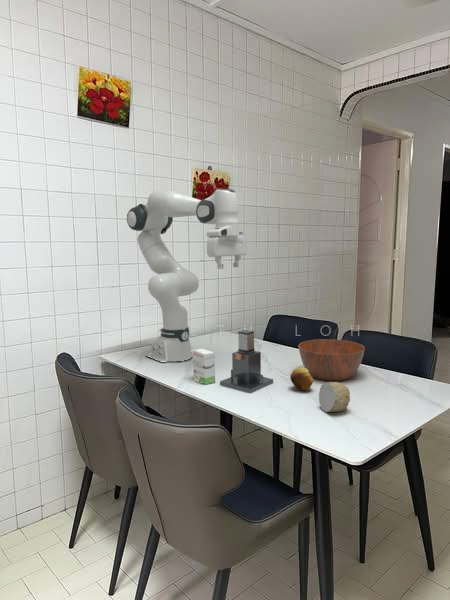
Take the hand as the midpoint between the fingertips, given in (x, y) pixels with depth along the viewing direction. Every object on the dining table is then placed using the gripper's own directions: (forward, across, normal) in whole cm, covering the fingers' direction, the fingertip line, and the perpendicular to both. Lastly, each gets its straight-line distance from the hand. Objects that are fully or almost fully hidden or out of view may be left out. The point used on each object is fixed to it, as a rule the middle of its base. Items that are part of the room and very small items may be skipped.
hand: (228, 268), depth 170 cm
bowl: (+43, -23, +31) cm, 58 cm away
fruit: (+43, -1, +31) cm, 53 cm away
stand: (+42, +6, +12) cm, 44 cm away
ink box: (+42, +13, -3) cm, 44 cm away
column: (+40, +6, +12) cm, 43 cm away
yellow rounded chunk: (+43, +9, +49) cm, 66 cm away
